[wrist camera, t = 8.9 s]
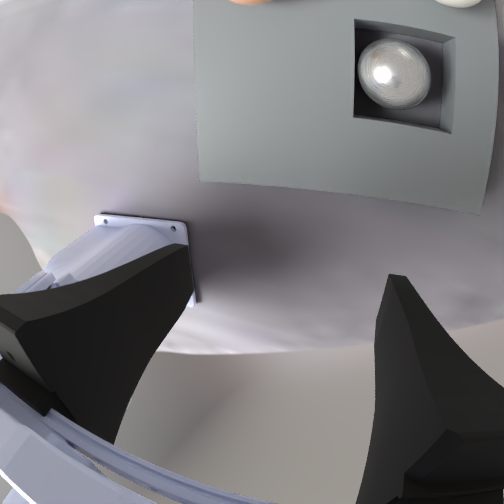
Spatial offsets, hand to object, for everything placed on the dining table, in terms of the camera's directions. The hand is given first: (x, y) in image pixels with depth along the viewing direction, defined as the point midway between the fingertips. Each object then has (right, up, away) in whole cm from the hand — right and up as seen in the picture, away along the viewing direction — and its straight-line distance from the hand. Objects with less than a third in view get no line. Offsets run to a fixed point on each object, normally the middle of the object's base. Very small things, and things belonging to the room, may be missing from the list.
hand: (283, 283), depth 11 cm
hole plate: (+5, +12, +4) cm, 14 cm away
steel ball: (+6, +10, +2) cm, 12 cm away
